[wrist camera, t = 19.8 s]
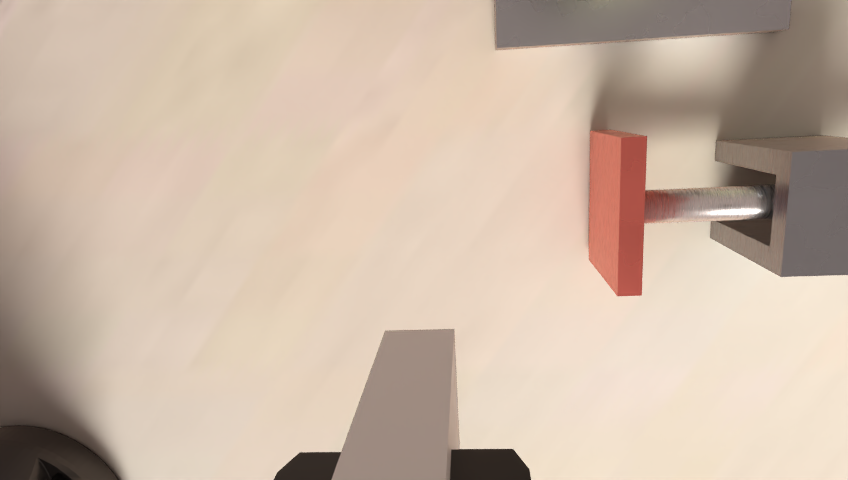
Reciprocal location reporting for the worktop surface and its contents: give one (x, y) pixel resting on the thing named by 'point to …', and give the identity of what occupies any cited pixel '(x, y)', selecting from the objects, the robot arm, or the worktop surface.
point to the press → (785, 157)
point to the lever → (648, 207)
